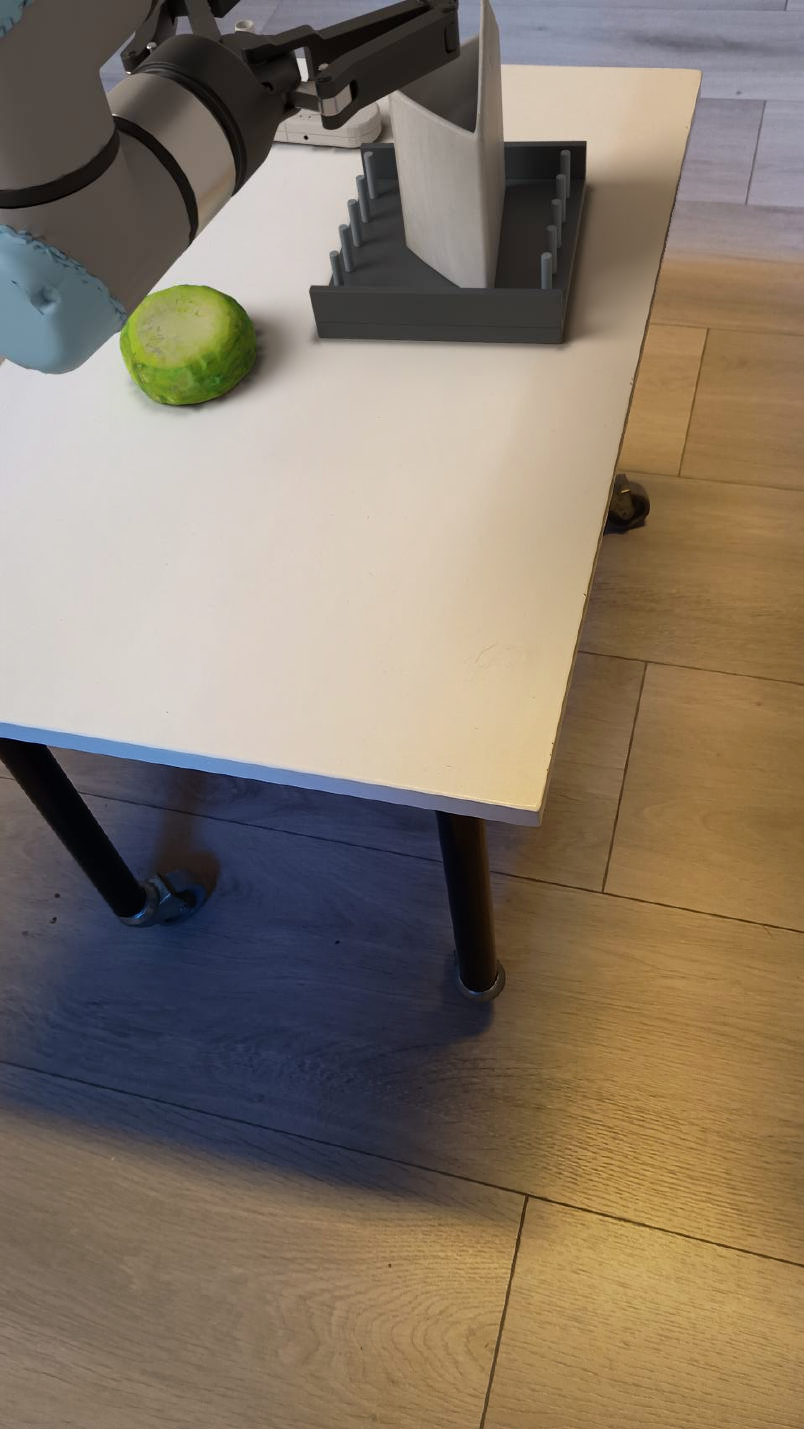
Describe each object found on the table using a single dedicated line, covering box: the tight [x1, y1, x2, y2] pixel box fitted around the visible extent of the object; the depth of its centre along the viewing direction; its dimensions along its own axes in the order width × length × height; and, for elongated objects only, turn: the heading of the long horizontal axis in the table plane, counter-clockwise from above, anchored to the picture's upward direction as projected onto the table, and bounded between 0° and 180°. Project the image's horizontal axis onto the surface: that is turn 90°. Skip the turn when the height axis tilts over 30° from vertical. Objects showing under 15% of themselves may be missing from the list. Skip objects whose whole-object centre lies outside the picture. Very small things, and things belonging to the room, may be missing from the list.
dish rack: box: [308, 140, 588, 345], centre depth 93 cm, size 20×21×6 cm
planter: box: [387, 0, 506, 288], centre depth 86 cm, size 16×8×19 cm, turn 173°
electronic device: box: [234, 19, 383, 149], centre depth 106 cm, size 5×10×15 cm
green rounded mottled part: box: [119, 283, 258, 406], centre depth 90 cm, size 12×11×5 cm
